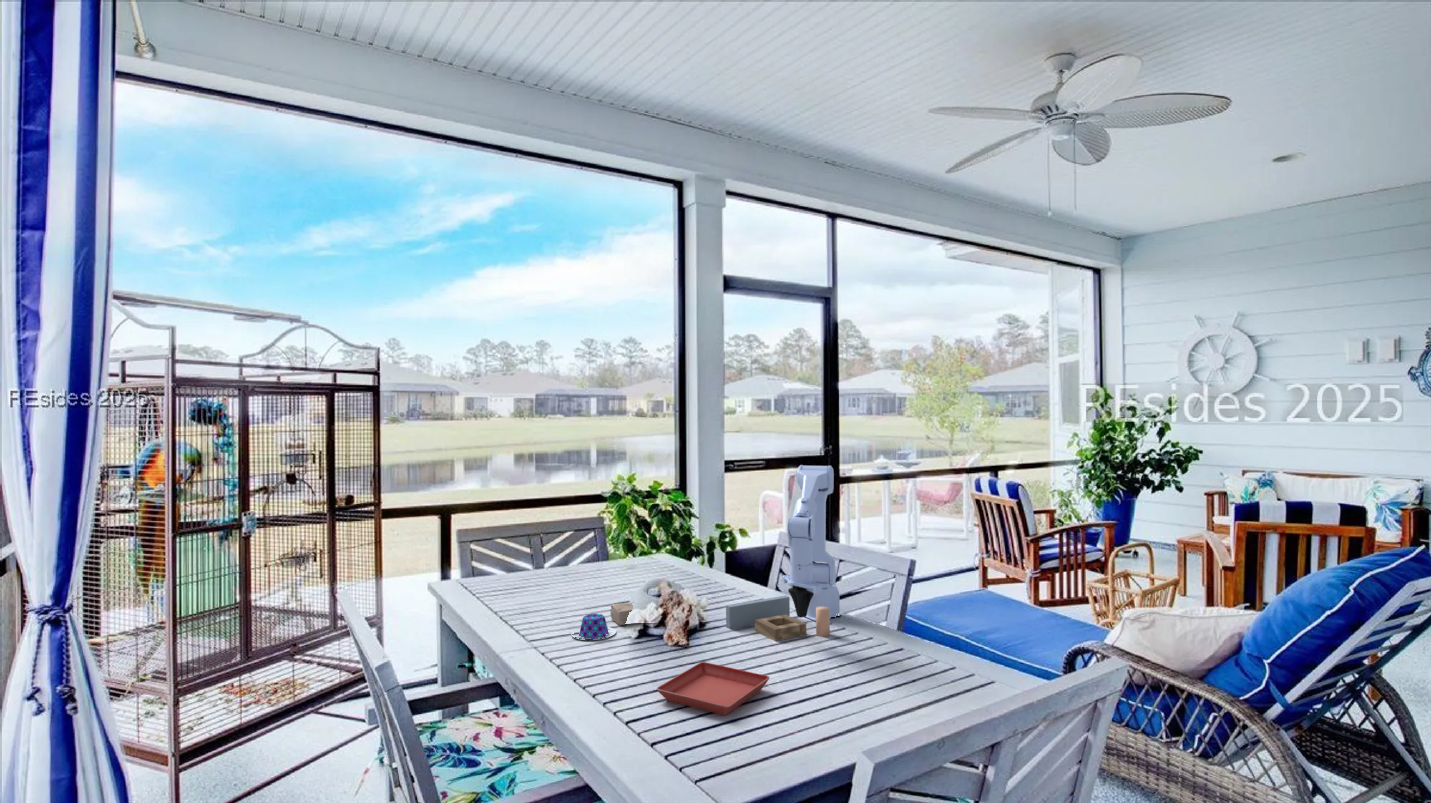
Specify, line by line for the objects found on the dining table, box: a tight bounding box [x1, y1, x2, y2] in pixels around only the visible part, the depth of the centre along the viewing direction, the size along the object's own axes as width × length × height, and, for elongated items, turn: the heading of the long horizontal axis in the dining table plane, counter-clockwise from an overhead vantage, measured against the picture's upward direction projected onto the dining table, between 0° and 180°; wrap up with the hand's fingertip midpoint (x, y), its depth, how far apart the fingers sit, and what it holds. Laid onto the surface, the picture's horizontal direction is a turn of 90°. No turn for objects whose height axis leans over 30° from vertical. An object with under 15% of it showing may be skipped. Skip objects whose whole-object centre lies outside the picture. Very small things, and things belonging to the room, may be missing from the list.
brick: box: [609, 602, 633, 626], centre depth 214 cm, size 17×8×5 cm, turn 118°
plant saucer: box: [656, 661, 771, 716], centre depth 158 cm, size 18×18×3 cm
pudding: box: [571, 613, 617, 641], centre depth 200 cm, size 12×12×5 cm
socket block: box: [754, 615, 807, 642], centre depth 200 cm, size 10×10×3 cm
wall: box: [725, 595, 791, 630], centre depth 209 cm, size 20×2×6 cm, turn 119°
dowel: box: [815, 607, 831, 638], centre depth 198 cm, size 4×4×7 cm
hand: (801, 616), depth 191 cm, fingers closed
